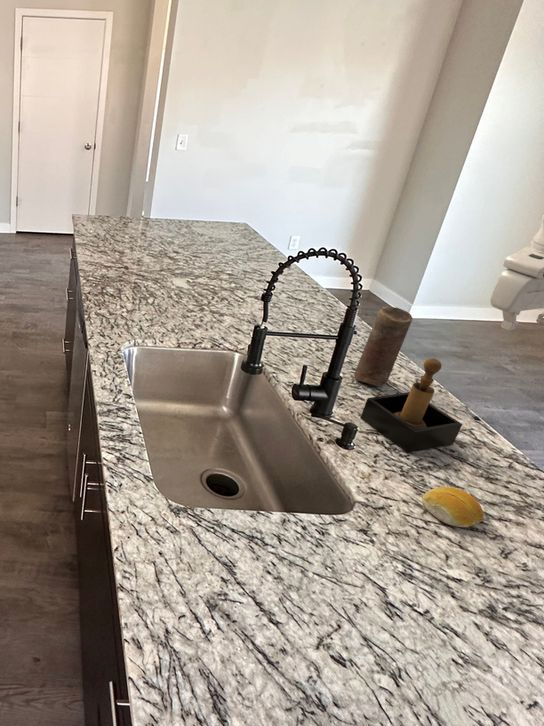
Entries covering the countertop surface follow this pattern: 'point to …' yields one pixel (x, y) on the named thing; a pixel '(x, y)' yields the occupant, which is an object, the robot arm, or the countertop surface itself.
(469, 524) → the bread roll
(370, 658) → the countertop surface
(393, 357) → the candle
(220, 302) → the countertop surface
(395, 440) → the black open square box
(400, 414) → the mortar and pestle
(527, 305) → the robot arm
